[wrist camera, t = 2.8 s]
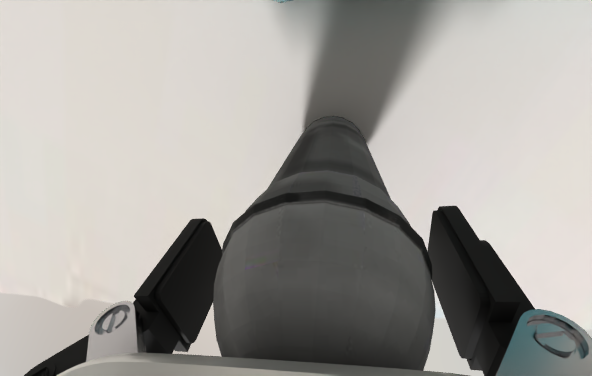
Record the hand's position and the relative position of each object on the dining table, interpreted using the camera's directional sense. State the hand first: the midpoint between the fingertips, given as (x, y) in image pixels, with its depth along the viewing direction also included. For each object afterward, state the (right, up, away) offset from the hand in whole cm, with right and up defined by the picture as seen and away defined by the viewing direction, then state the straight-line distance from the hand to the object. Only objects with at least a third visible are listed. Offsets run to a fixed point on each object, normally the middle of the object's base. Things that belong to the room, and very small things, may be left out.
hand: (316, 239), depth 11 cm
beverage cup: (+2, +5, +8) cm, 10 cm away
